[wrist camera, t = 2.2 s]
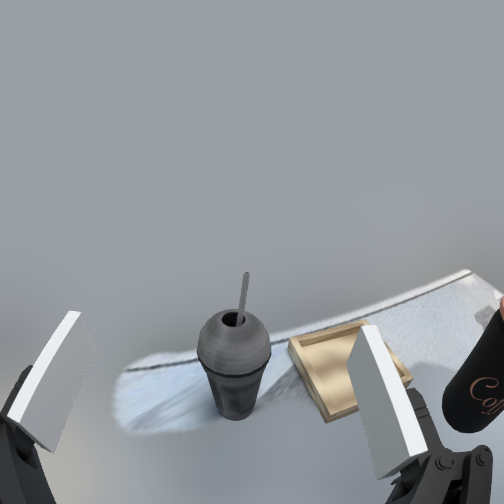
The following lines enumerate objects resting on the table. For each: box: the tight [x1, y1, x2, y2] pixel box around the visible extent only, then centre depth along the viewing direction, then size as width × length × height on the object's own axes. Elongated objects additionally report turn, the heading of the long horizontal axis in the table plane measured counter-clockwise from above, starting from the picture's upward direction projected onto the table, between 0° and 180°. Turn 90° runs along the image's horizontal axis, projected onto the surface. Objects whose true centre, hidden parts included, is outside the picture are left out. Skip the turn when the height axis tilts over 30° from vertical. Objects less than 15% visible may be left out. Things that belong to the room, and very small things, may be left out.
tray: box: [288, 319, 413, 423], centre depth 36 cm, size 14×14×2 cm
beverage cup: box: [197, 271, 271, 421], centre depth 26 cm, size 7×7×20 cm
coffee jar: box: [442, 296, 504, 433], centre depth 22 cm, size 11×11×18 cm
